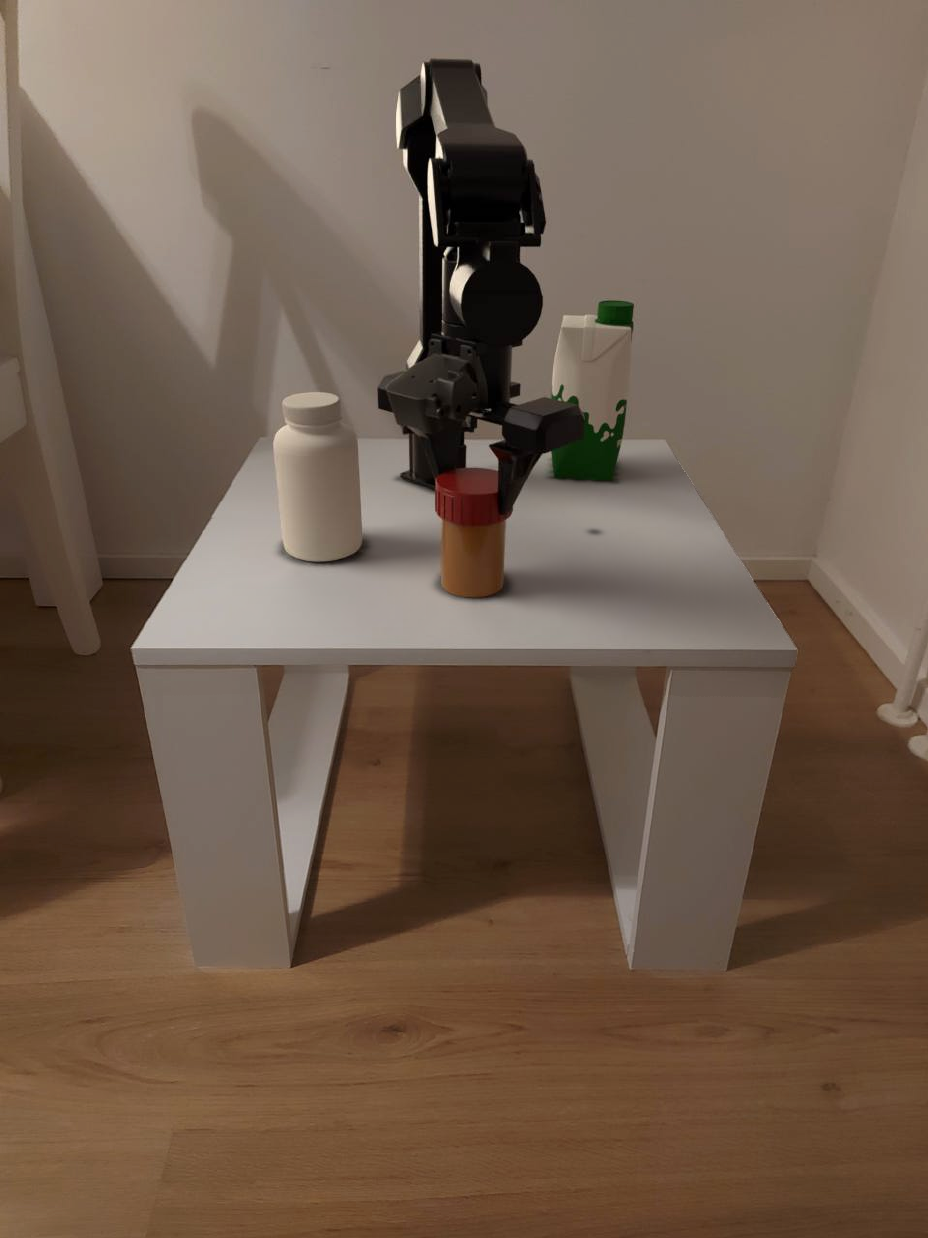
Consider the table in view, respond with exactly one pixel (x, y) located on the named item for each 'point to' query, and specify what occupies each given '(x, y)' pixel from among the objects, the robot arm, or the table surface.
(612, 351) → the soya milk
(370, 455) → the table surface
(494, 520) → the lid
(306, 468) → the pill bottle
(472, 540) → the jar
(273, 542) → the table surface
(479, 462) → the table surface
